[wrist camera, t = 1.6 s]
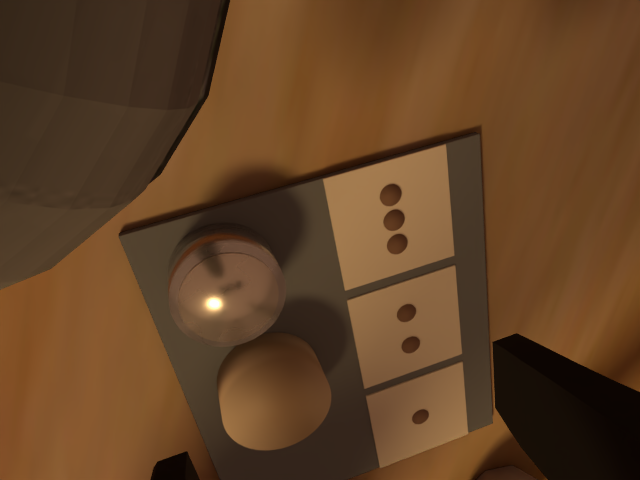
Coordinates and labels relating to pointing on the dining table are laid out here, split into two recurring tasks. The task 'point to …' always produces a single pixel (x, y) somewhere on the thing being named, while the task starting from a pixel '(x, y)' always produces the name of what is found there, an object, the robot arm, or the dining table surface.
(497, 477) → the salt shaker
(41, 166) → the beverage cup
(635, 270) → the dining table surface
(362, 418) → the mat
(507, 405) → the robot arm
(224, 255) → the tealight tin
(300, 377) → the beech disc
